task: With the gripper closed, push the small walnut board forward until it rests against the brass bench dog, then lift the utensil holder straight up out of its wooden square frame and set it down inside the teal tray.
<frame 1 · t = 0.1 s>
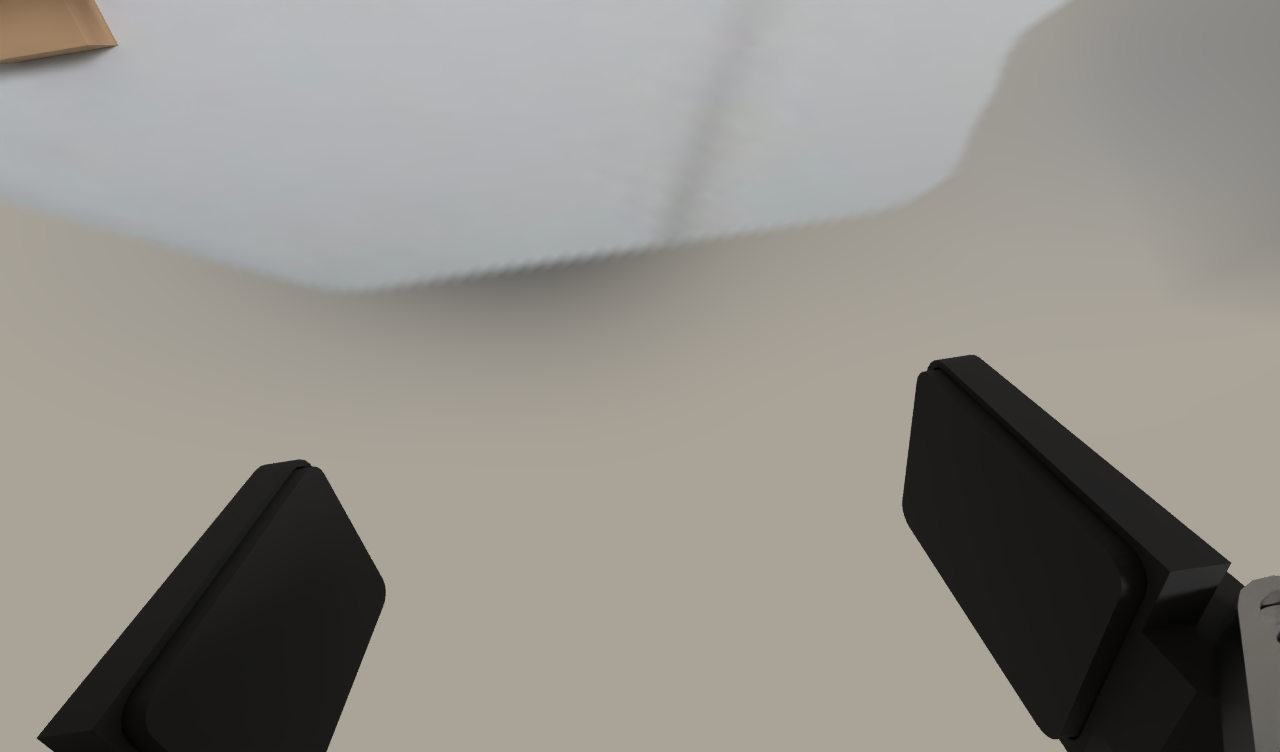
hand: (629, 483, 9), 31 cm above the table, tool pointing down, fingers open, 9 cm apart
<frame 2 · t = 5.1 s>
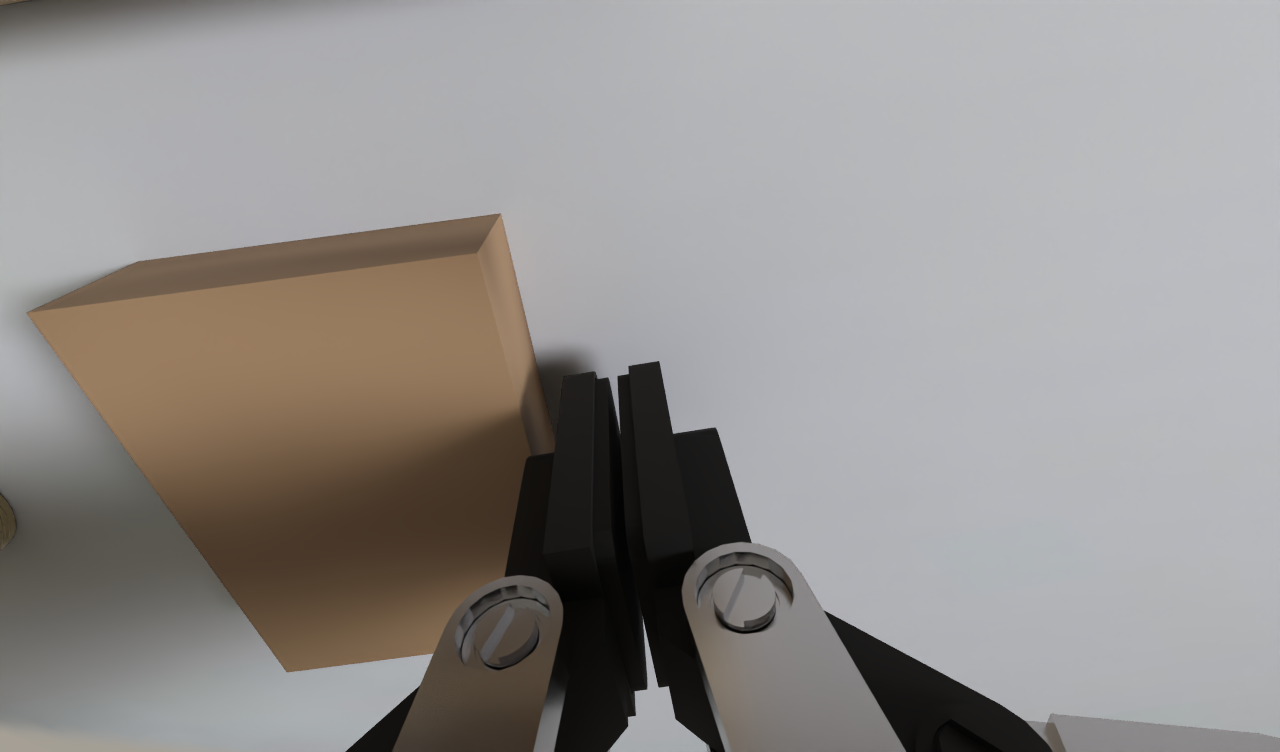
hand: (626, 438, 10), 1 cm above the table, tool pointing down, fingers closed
board: (405, 422, 12), on the table
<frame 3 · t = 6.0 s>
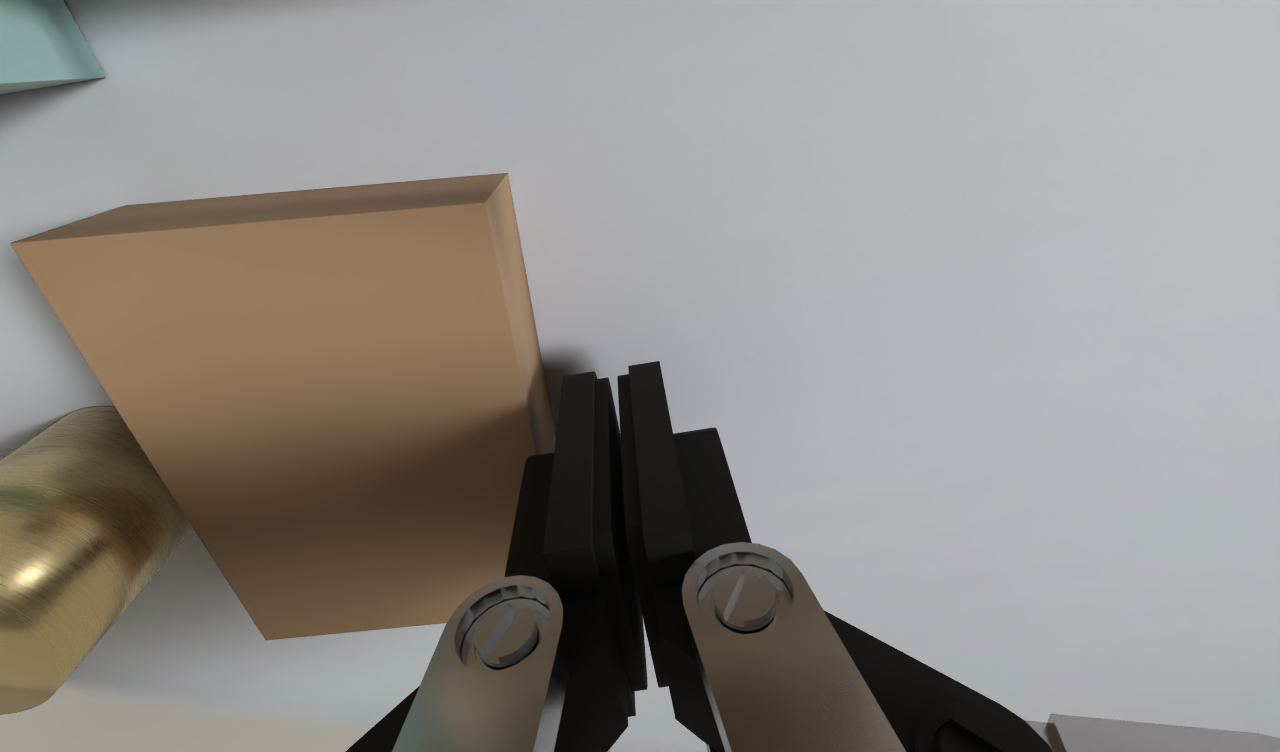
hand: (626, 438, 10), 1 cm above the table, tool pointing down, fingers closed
bench dog: (137, 468, 11), on the table
board: (399, 388, 11), on the table
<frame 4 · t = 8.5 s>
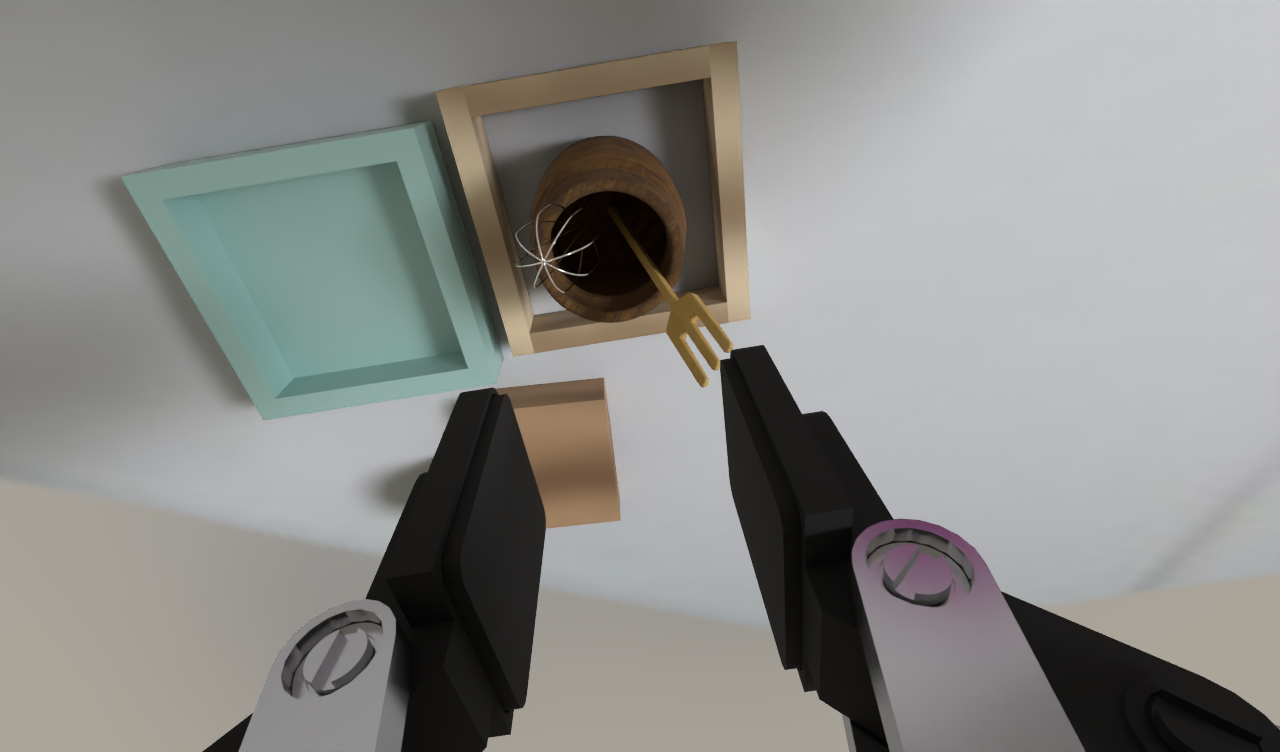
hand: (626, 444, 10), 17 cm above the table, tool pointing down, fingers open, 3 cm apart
utensil holder: (610, 205, 25), resting in wooden square frame
tray: (352, 271, 26), on the table
wooden square frame: (610, 206, 25), on the table
board: (558, 441, 32), on the table
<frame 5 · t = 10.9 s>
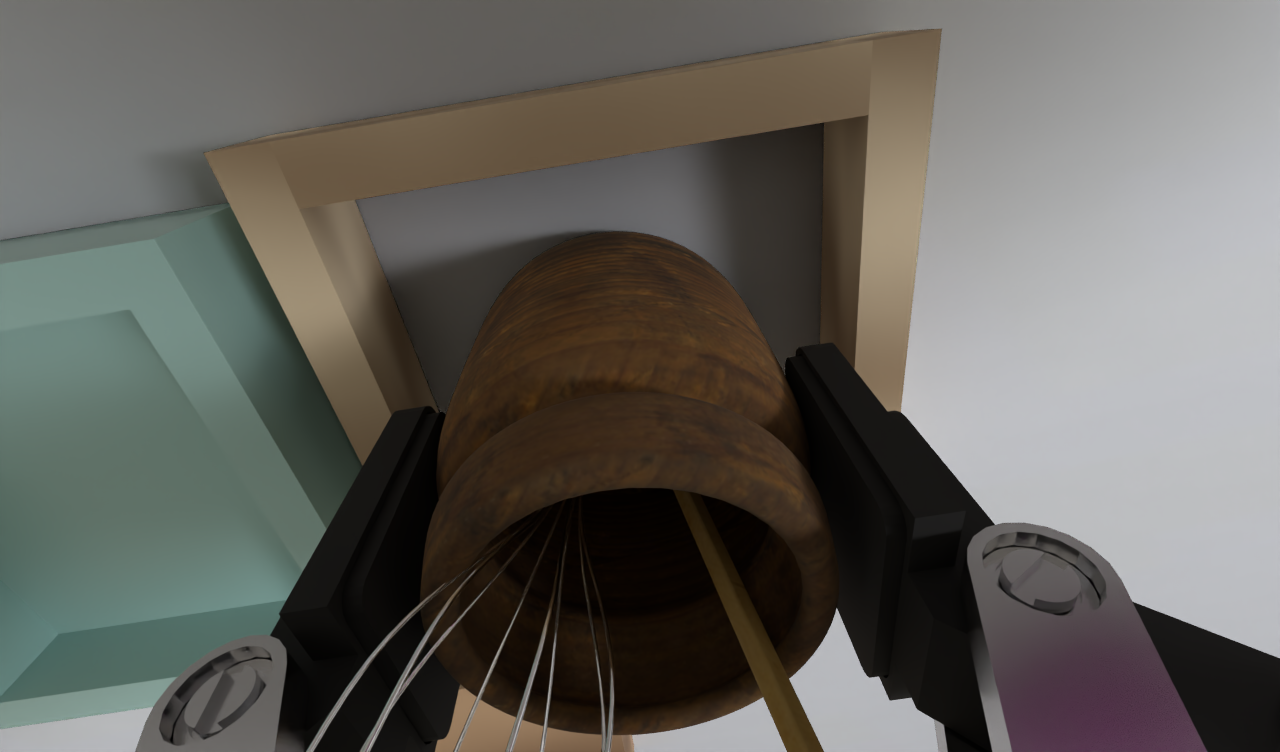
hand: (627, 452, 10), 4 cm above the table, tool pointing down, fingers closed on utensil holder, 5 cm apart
utensil holder: (623, 350, 13), resting in wooden square frame, touching gripper
tray: (135, 468, 14), on the table
wooden square frame: (622, 354, 13), on the table
board: (535, 682, 20), on the table
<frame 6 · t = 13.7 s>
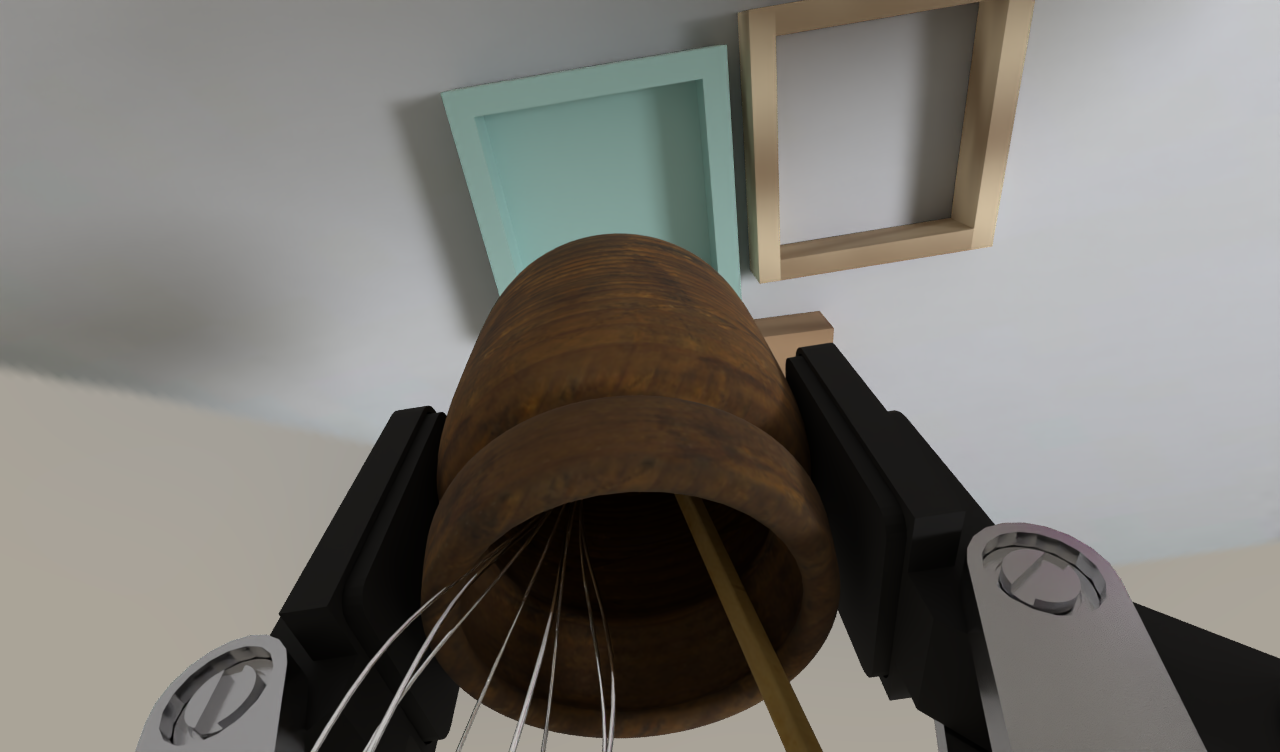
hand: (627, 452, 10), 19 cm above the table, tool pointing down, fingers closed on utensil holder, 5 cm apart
utensil holder: (624, 352, 13), point 15 cm above the table, touching gripper
tray: (607, 200, 26), on the table
wooden square frame: (864, 135, 26), on the table
board: (761, 379, 32), on the table
when the fingers open (5 cm above the table, at t = 16.6 s): utensil holder drops 1 cm, resting on tray.
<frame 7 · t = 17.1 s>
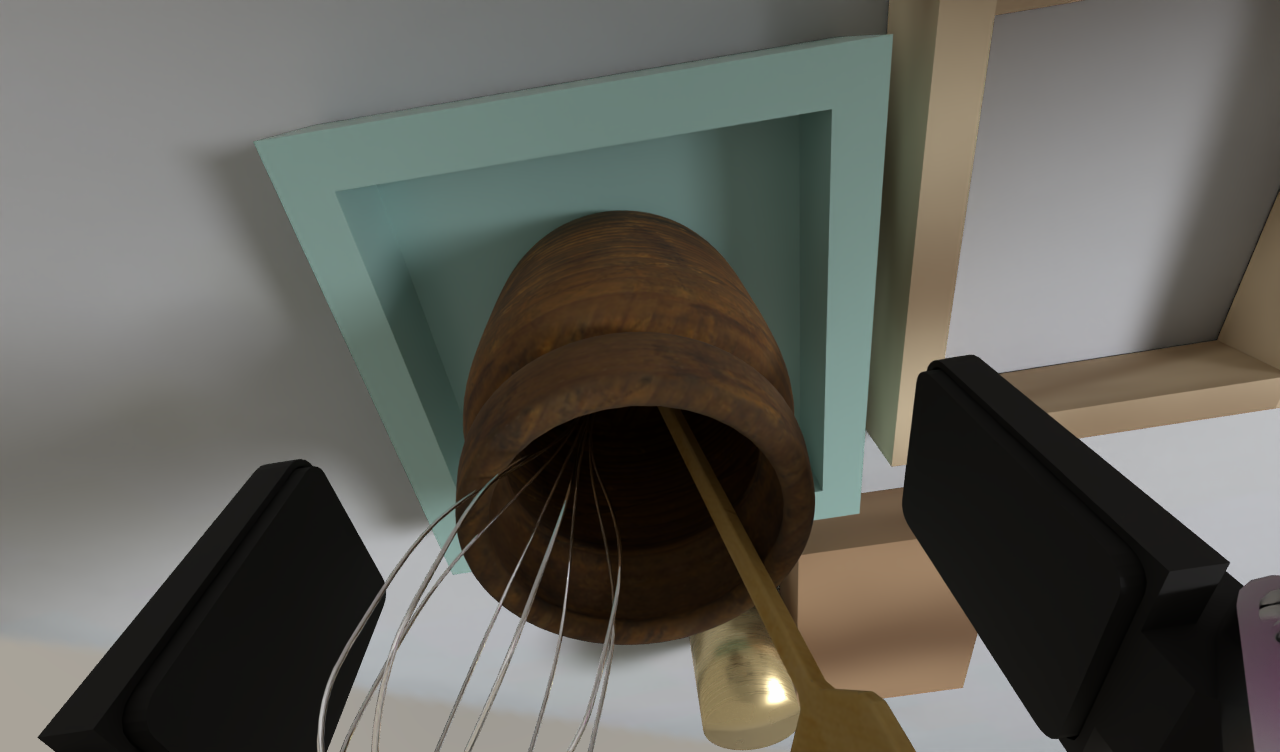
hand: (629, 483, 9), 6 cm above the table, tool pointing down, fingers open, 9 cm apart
utensil holder: (627, 323, 14), resting on tray
tray: (618, 320, 14), on the table
wooden square frame: (1098, 205, 14), on the table
bench dog: (726, 609, 20), on the table
board: (859, 567, 20), on the table
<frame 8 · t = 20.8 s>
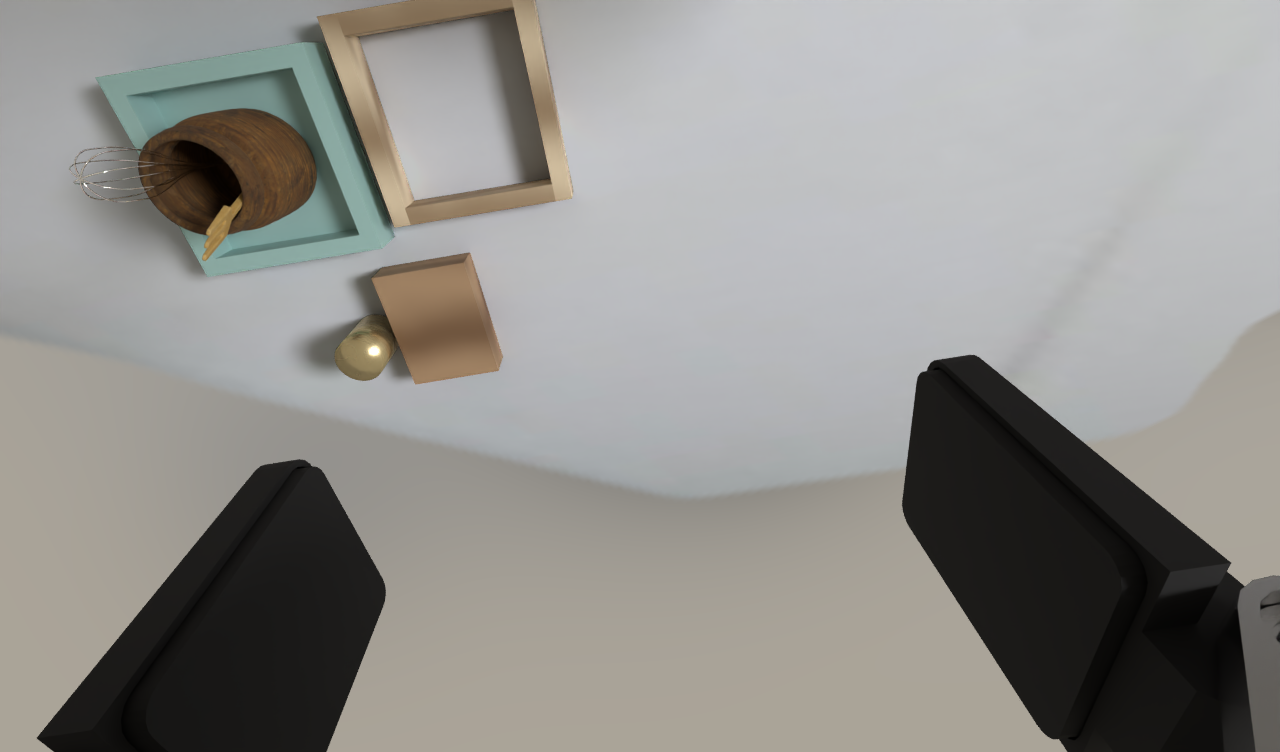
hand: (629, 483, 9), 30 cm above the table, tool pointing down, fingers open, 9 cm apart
utensil holder: (272, 161, 34), resting on tray
tray: (272, 162, 34), on the table
wooden square frame: (462, 111, 33), on the table
bench dog: (379, 333, 40), on the table
board: (446, 312, 40), on the table
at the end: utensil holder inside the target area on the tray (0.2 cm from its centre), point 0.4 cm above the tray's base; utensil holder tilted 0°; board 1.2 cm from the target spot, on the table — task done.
